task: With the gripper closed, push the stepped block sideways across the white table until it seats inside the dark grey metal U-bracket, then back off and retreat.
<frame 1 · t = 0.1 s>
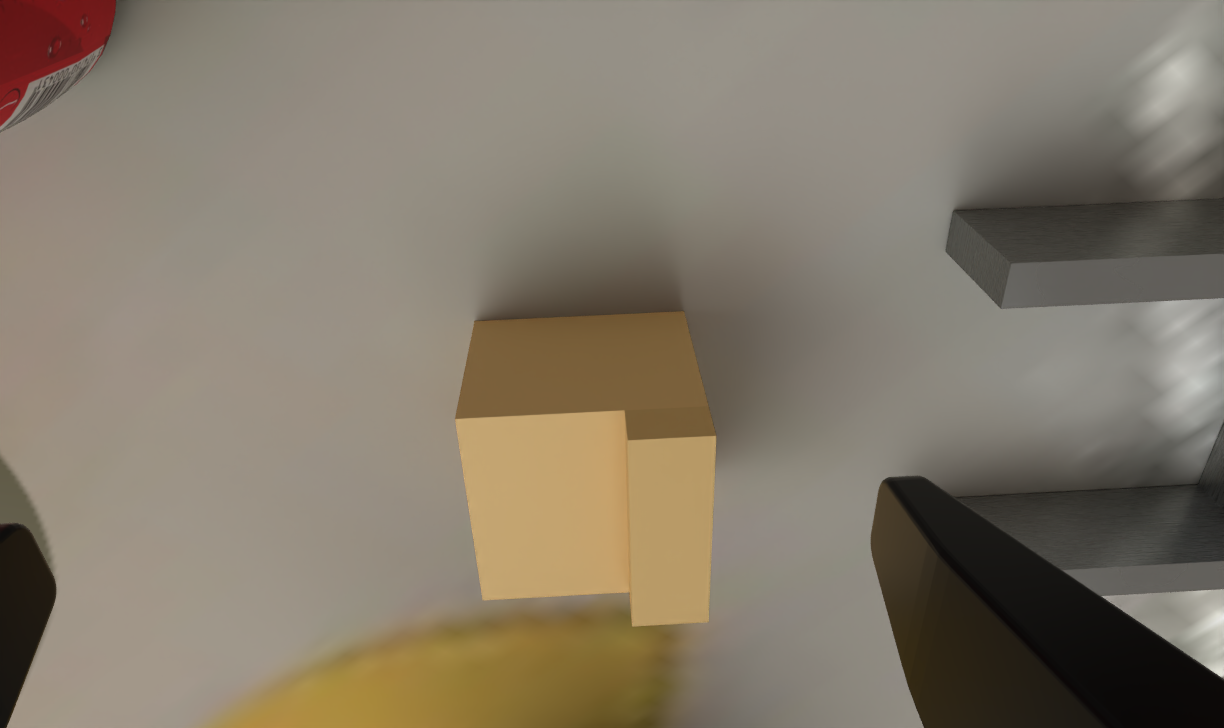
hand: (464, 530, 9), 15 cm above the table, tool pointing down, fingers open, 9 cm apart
stepped block: (584, 401, 26), on the table
bracket: (1102, 378, 26), on the table
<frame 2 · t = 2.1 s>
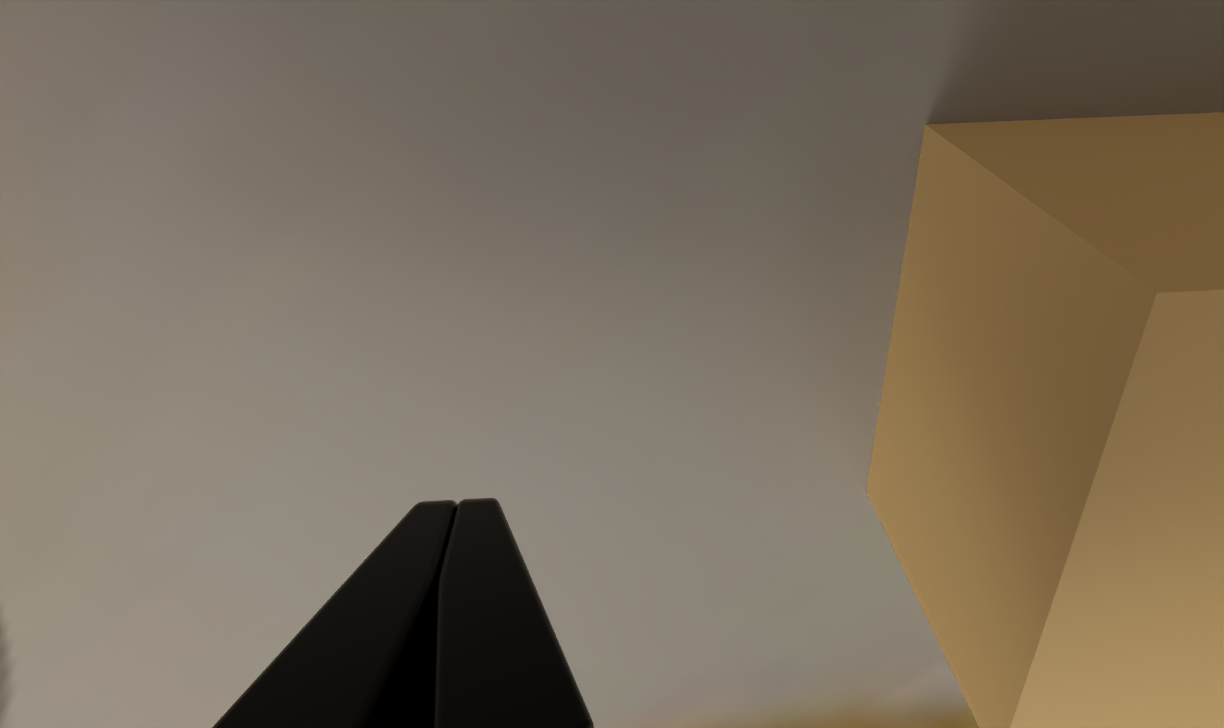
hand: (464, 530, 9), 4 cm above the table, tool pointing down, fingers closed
stepped block: (1090, 317, 12), on the table
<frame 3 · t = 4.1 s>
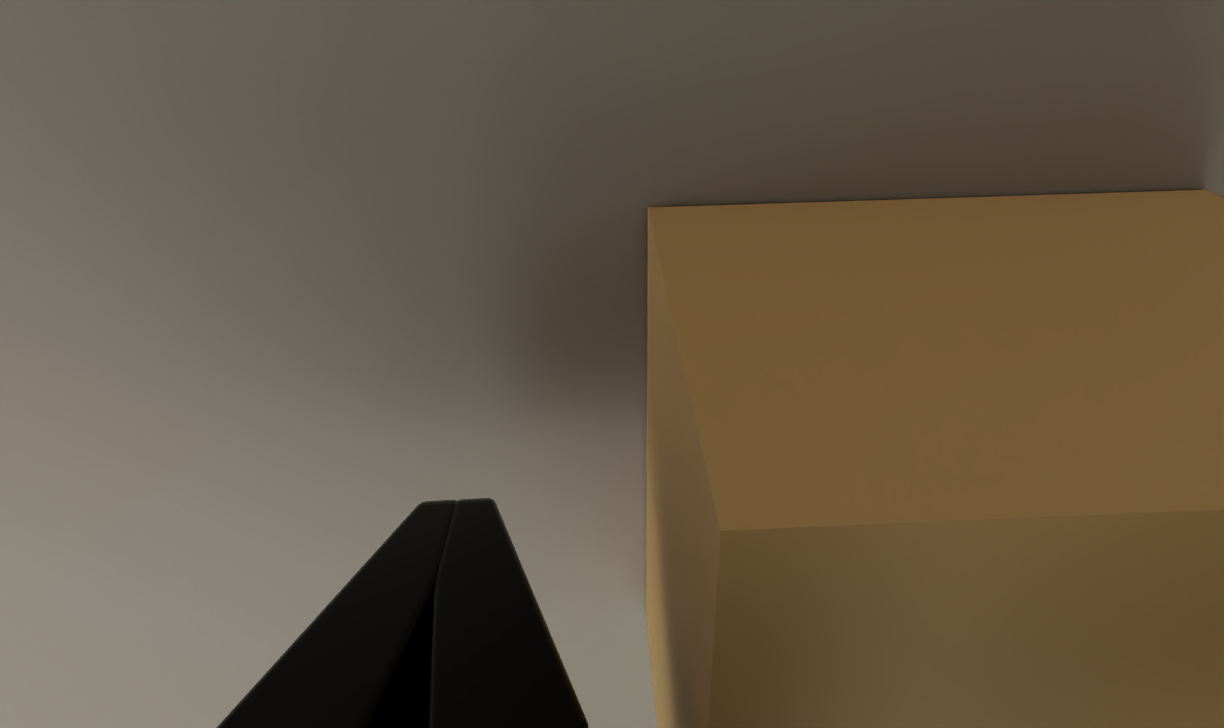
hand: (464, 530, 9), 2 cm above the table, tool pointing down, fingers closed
stepped block: (888, 430, 10), on the table, touching gripper
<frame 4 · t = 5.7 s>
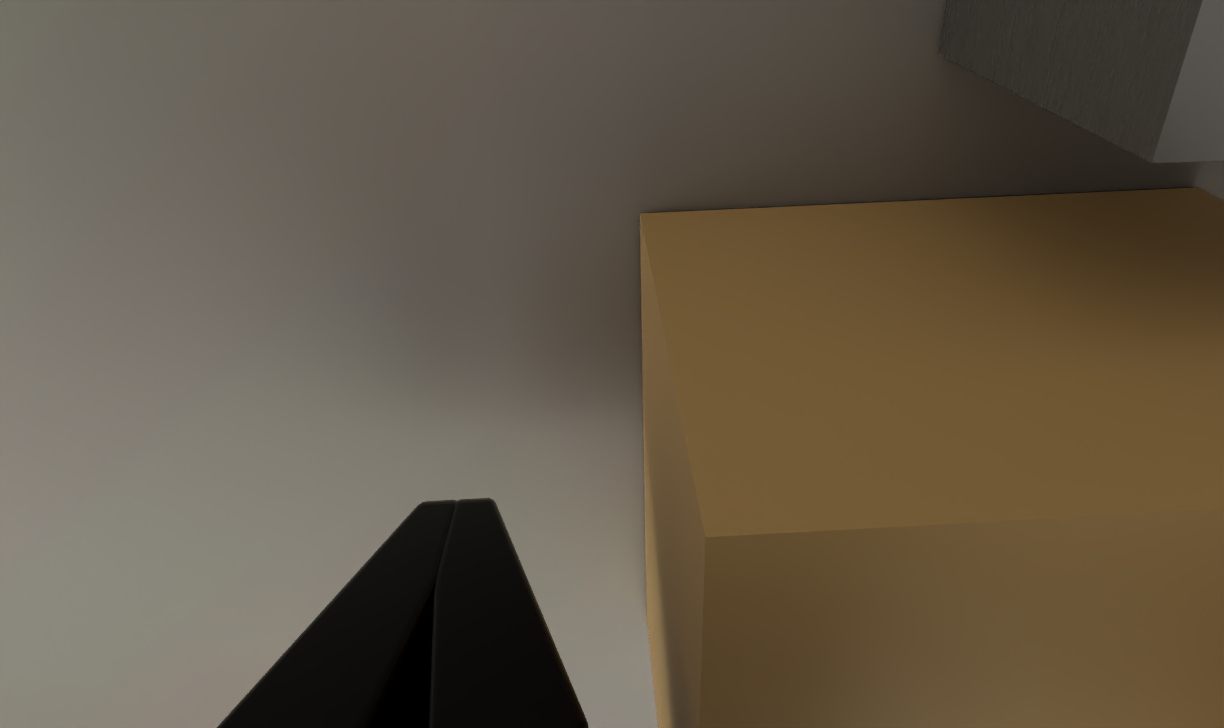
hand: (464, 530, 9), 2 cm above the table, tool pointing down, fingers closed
stepped block: (883, 431, 11), on the table, touching gripper
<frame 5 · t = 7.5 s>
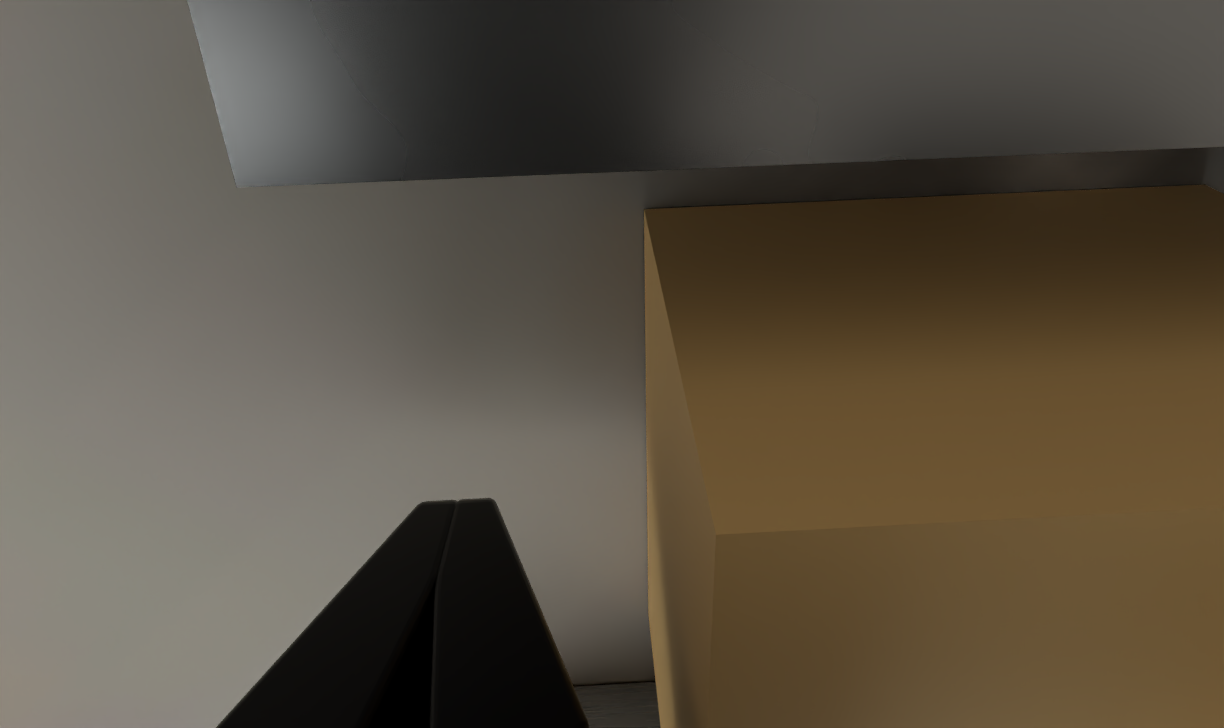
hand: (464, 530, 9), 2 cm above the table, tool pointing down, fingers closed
stepped block: (887, 429, 10), on the table, touching gripper
bracket: (890, 426, 10), on the table
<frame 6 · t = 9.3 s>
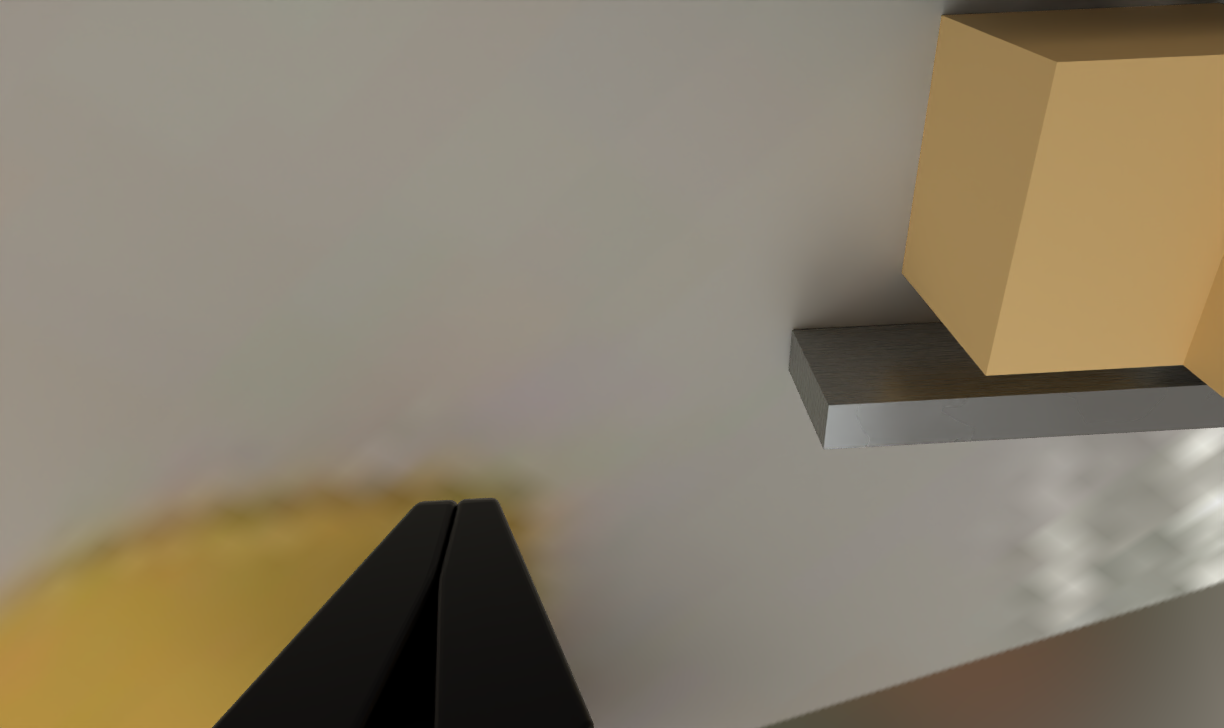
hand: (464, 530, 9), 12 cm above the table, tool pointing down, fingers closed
stepped block: (1046, 146, 20), on the table
bracket: (1052, 146, 19), on the table
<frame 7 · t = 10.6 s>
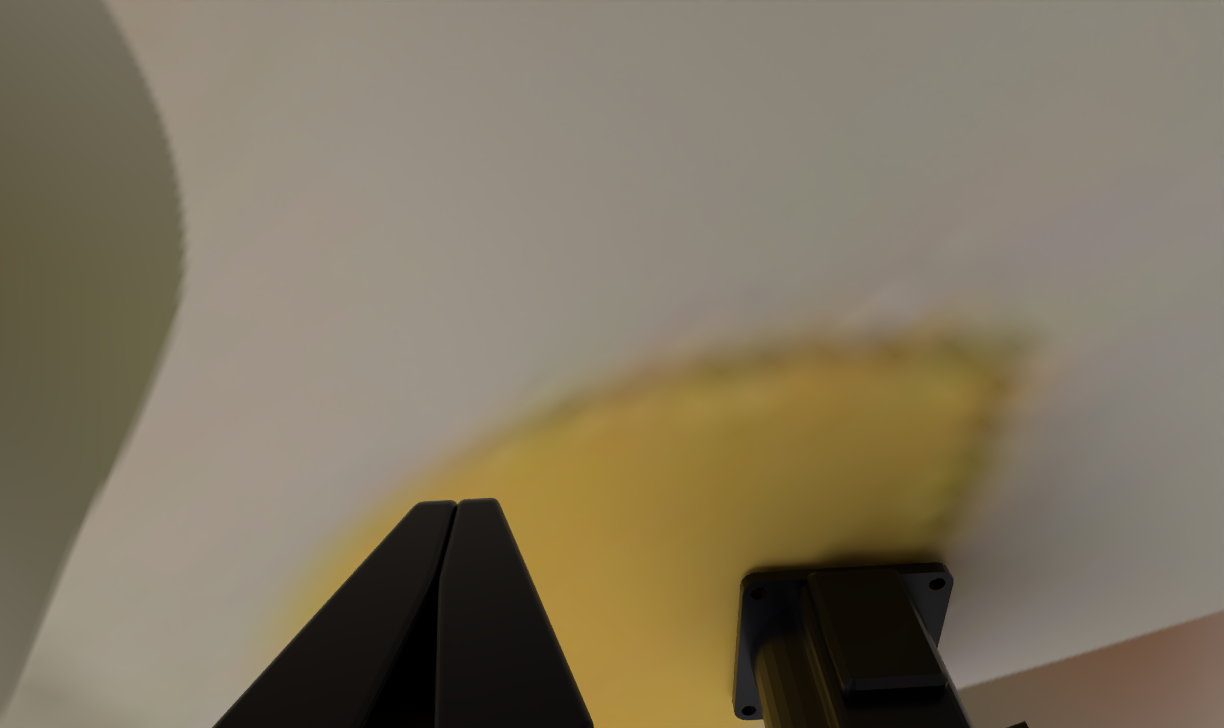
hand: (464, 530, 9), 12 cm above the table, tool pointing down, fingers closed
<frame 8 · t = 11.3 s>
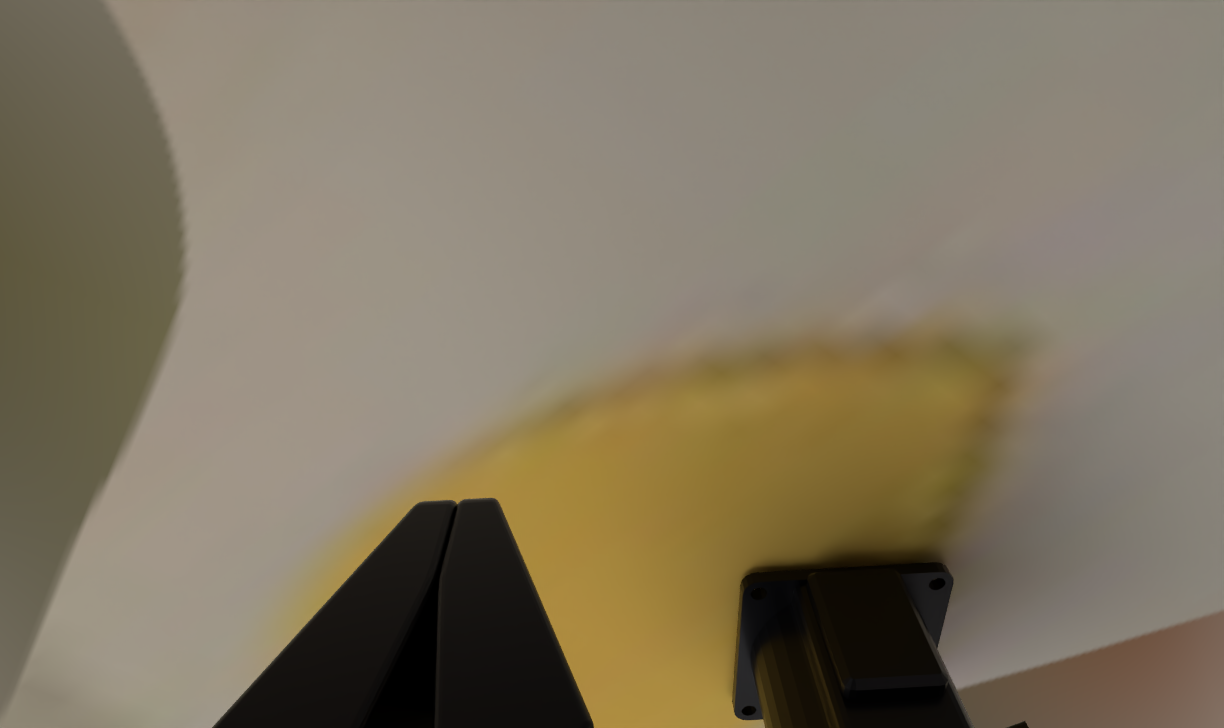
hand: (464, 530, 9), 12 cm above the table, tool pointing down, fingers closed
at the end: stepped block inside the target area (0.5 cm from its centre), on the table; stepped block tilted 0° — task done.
